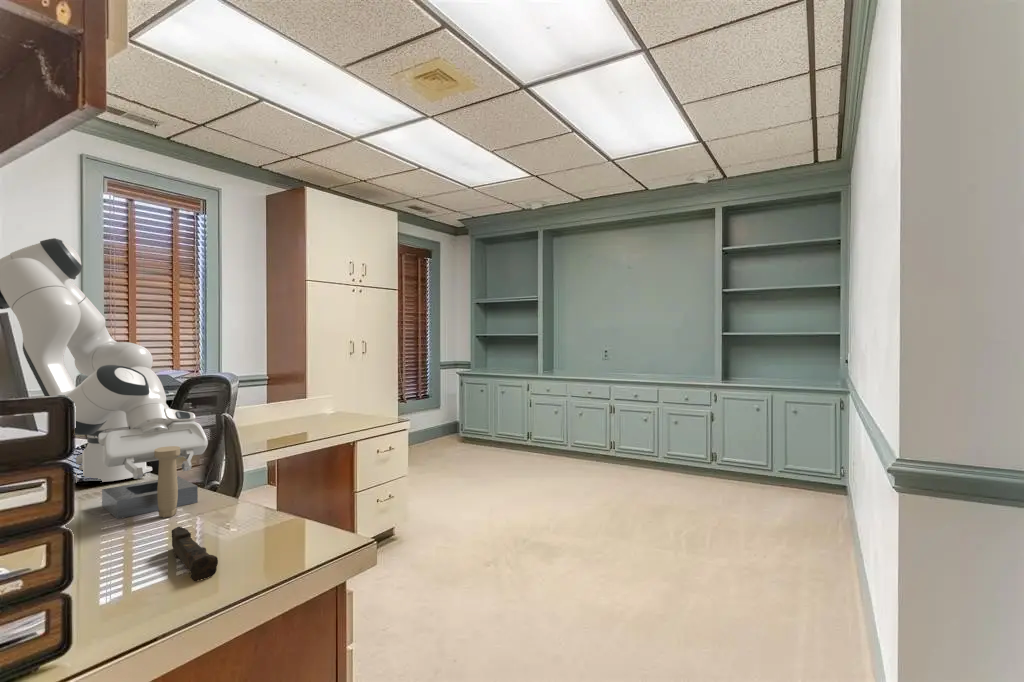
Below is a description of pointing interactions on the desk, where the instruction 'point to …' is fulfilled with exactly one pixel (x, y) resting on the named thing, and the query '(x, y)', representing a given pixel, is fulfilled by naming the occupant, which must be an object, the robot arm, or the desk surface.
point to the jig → (143, 497)
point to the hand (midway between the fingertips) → (163, 473)
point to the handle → (167, 480)
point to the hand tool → (193, 555)
